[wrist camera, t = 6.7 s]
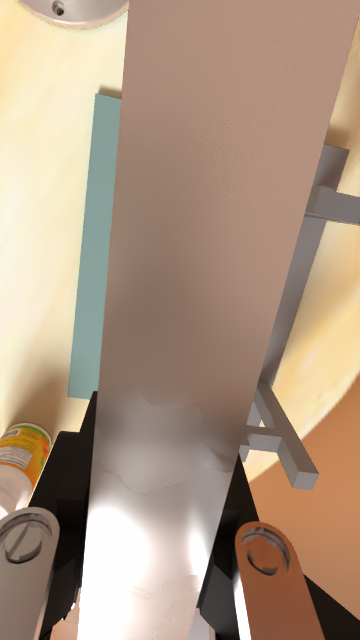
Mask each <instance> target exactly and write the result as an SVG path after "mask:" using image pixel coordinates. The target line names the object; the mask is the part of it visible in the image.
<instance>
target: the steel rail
mask: <svg viewBox="0 0 360 640" xmlns="http://www.w3.org/2000/svg"><path fill="white" fill-rule="evenodd" d="M359 14H360V0H129V9H128V21H127V34H126V46H125V59H124V71H123V84H122V96H121V109H120V121H119V133H118V146H117V158H116V171H115V183H114V196H113V208H112V221H111V233H110V245H109V258H108V270H107V283H106V295H105V308H104V320H103V333H102V345H101V357H100V370H99V382H98V395H97V407H96V420H95V432H94V445H93V457H92V469H91V482H90V494H89V507H88V519H87V532H86V544H85V557H84V569H83V581H82V594H81V606H80V619H79V631H78V640H187V638H188V634H189V631H190V627H191V623H192V620H193V616H194V613H195V609H196V605H197V602H198V598H199V594H200V591H201V587H202V584H203V580H204V576H205V573H206V569H207V565H208V562H209V558H210V555H211V551H212V547H213V544H214V540H215V536H216V533H217V529H218V525H219V522H220V518H221V515H222V511H223V507H224V504H225V500H226V496H227V493H228V489H229V486H230V482H231V478H232V475H233V471H234V467H235V464H236V460H237V457H238V453H239V449H240V446H241V442H242V438H243V435H244V431H245V427H246V424H247V420H248V417H249V413H250V409H251V406H252V402H253V398H254V395H255V391H256V388H257V384H258V380H259V377H260V373H261V369H262V366H263V362H264V359H265V355H266V351H267V348H268V344H269V340H270V337H271V333H272V330H273V326H274V322H275V319H276V315H277V311H278V308H279V304H280V300H281V297H282V293H283V290H284V286H285V282H286V279H287V275H288V271H289V268H290V264H291V261H292V257H293V253H294V250H295V246H296V242H297V239H298V235H299V232H300V228H301V224H302V221H303V217H304V213H305V210H306V206H307V202H308V199H309V195H310V192H311V188H312V184H313V181H314V177H315V173H316V170H317V166H318V163H319V159H320V155H321V152H322V148H323V144H324V141H325V137H326V134H327V130H328V126H329V123H330V119H331V115H332V112H333V108H334V104H335V101H336V97H337V94H338V90H339V86H340V83H341V79H342V75H343V72H344V68H345V65H346V61H347V57H348V54H349V50H350V46H351V43H352V39H353V36H354V32H355V28H356V25H357V21H358V17H359Z"/></svg>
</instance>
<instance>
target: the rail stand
mask: <svg viewBox="0 0 360 640" xmlns="http://www.w3.org/2000/svg"><path fill="white" fill-rule="evenodd" d="M348 153H349V150H347V149H342V148H338V147H334V146H330V145H325V144H323V148H322V152H321V155H320V159H319V163H318V166H317V170H316V173H315V177H314V181H313V184H312V188H311V192H310V195H309V199H308V202H307V206H306V210H305V213H304V217H303V221H302V224H301V228H300V232H299V235H298V239H297V242H296V246H295V250H294V253H293V257H292V261H291V264H290V268H289V271H288V275H287V279H286V282H285V286H284V290H283V293H282V297H281V300H280V304H279V308H278V311H277V315H276V319H275V322H274V326H273V330H272V333H271V337H270V340H269V344H268V348H267V351H266V355H265V359H264V362H263V366H262V369H261V373H260V377H259V380H258V384H257V388H256V391H255V395H254V398H253V402H252V406H251V409H250V413H249V417H248V420H247V424H246V427H245V431H244V435H243V438H242V442H241V446H240V449H239V454H240V457H241V461H242V462H245V461H246V458H247V455H248V452H249V449H252V450H260V451H269V452H277V455H278V457H279V459H280V461H281V463H282V466H283V468H284V470H285V472H286V475H287V477H288V479H289V481H290V484H291V486H292V488H297V489H305V490H313V488H314V485H315V483H316V481H317V478H318V476H319V473H318V471H317V469H316V467H315V466H314V464H313V462H312V461H311V458H310V457H309V455H308V453H307V452H306V450H305V448H304V446H303V444H302V443H301V441H300V439H299V437H298V435H297V434H296V432H295V430H294V428H293V427H292V425H291V423H290V421H289V420H288V418H287V416H286V414H285V412H284V411H283V409H282V407H281V405H280V404H279V402H278V400H277V398H276V397H275V395H274V393H273V391H272V389H271V388H272V385H273V382H274V379H275V376H276V373H277V370H278V367H279V364H280V361H281V358H282V355H283V352H284V349H285V346H286V343H287V340H288V336H289V333H290V330H291V327H292V324H293V321H294V318H295V315H296V312H297V309H298V306H299V303H300V300H301V297H302V294H303V291H304V288H305V285H306V282H307V278H308V275H309V272H310V269H311V266H312V263H313V260H314V257H315V254H316V251H317V248H318V245H319V242H320V239H321V236H322V233H323V230H324V227H325V223H326V221H332V222H338V223H345V224H352V225H359V226H360V197H356V196H351V195H347V194H342V193H338V192H336V190H337V187H338V184H339V181H340V178H341V175H342V172H343V169H344V165H345V162H346V159H347V156H348ZM261 419H262V421H263V423H264V425H265V427H259V425H260V422H261Z"/></svg>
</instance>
